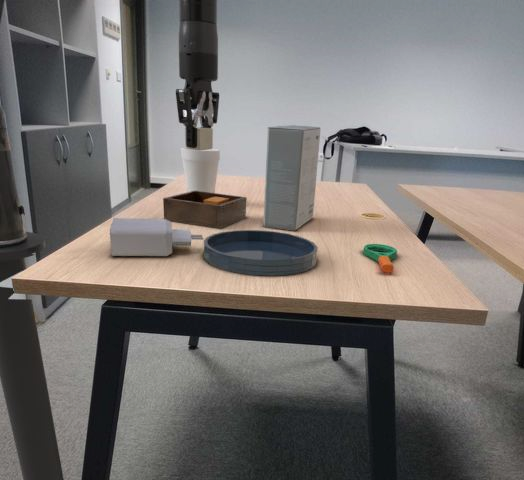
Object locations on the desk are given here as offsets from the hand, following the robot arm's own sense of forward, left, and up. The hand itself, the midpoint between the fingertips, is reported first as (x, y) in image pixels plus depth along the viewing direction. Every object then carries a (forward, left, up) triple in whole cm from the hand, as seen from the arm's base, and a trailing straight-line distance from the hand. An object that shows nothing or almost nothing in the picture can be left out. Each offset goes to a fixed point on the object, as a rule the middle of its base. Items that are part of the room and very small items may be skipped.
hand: (198, 146), depth 99 cm
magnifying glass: (+42, -11, -15) cm, 46 cm away
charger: (+6, -26, -15) cm, 31 cm away
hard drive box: (+18, +9, -15) cm, 25 cm away
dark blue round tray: (+23, -21, -15) cm, 35 cm away
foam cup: (-9, +17, -15) cm, 25 cm away
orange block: (+4, +1, -14) cm, 15 cm away
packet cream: (0, 0, 0) cm, 0 cm away
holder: (+1, +1, -15) cm, 15 cm away
